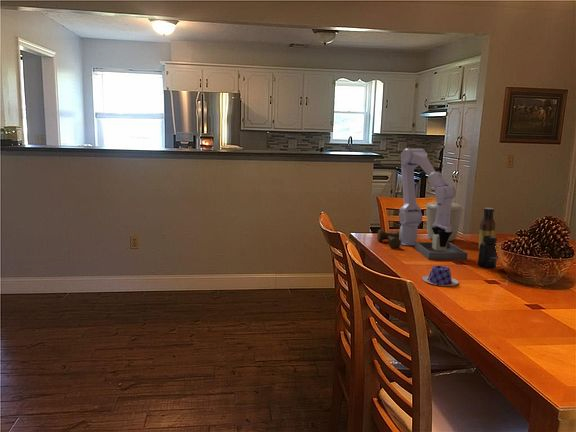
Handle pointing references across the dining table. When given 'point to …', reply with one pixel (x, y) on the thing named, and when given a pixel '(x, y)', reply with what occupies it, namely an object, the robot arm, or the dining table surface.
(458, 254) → the tray
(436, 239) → the beige block
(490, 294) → the dining table surface
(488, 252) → the supplement bottle
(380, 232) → the kendama
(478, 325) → the dining table surface
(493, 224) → the sauce bottle
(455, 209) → the canister
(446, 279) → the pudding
